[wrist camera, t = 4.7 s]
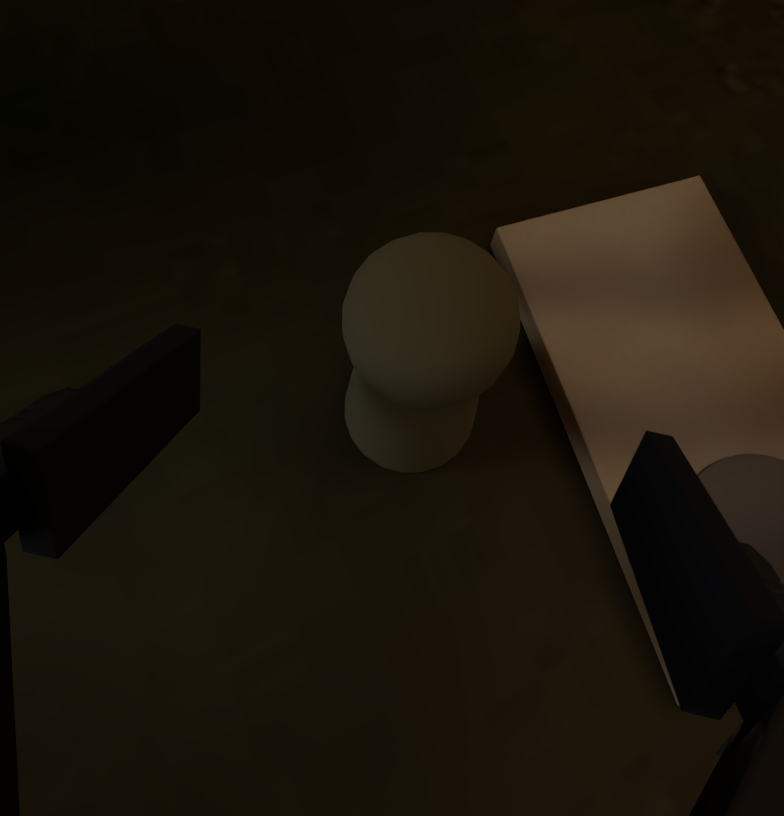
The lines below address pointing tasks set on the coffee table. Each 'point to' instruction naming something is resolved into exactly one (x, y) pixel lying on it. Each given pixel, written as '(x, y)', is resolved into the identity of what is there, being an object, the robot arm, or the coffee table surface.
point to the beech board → (657, 351)
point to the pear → (424, 347)
